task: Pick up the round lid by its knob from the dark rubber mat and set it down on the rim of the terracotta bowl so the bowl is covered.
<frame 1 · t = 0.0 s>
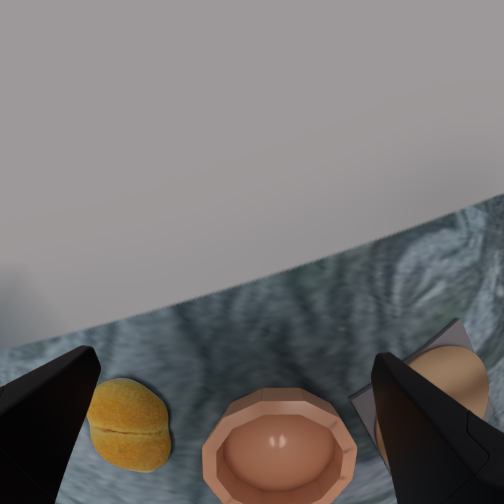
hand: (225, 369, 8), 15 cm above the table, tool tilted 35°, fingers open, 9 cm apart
bread roll: (134, 423, 22), on the table
mat: (431, 408, 20), on the table
bowl: (279, 446, 20), on the table
lid: (434, 410, 19), point 1 cm above the table, touching mat
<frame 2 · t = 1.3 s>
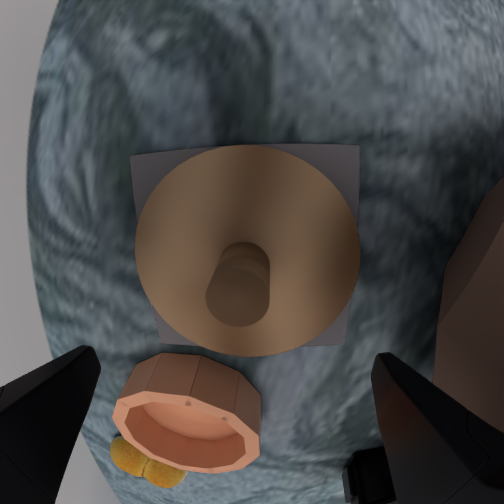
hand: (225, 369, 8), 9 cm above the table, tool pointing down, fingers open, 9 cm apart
bread roll: (153, 451, 26), on the table
mat: (246, 253, 17), on the table
bowl: (193, 403, 22), on the table
lid: (245, 258, 16), point 1 cm above the table, touching mat
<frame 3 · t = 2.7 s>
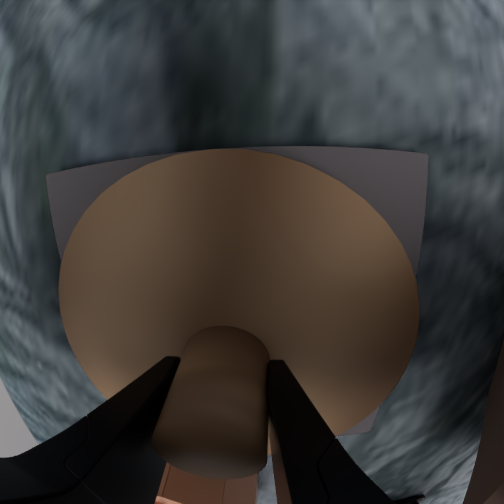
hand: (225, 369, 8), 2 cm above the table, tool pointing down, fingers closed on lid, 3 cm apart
mat: (233, 327, 10), on the table
bowl: (175, 474, 15), on the table
lid: (230, 340, 10), point 1 cm above the table, touching gripper, mat
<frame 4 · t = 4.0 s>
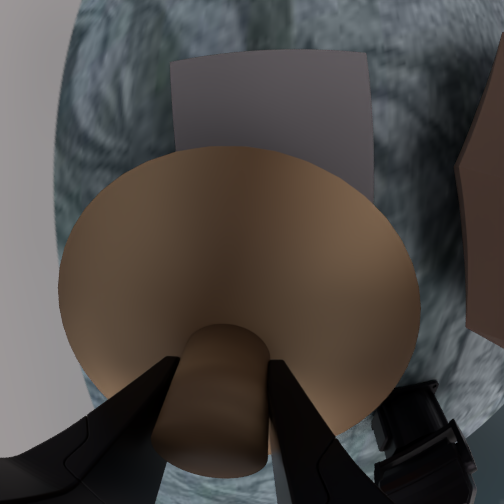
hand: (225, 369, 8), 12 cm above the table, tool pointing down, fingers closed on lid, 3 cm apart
mat: (275, 144, 17), on the table
lid: (231, 339, 9), point 11 cm above the table, touching gripper
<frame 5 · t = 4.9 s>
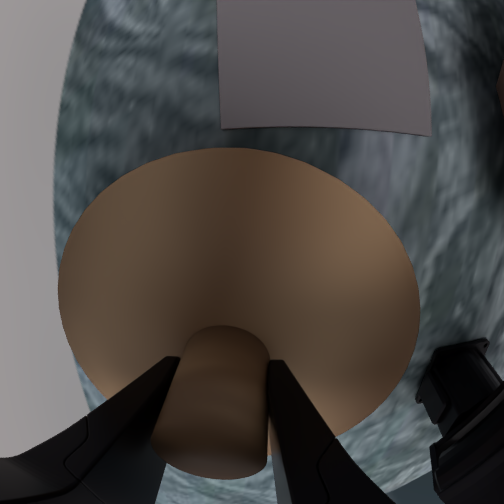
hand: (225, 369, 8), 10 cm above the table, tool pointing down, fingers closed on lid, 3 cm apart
mat: (325, 31, 13), on the table
lid: (230, 340, 9), point 9 cm above the table, touching gripper
when the fingers open (7 cm above the table, at t = 5.7 s): lid drops 1 cm, resting on bowl.
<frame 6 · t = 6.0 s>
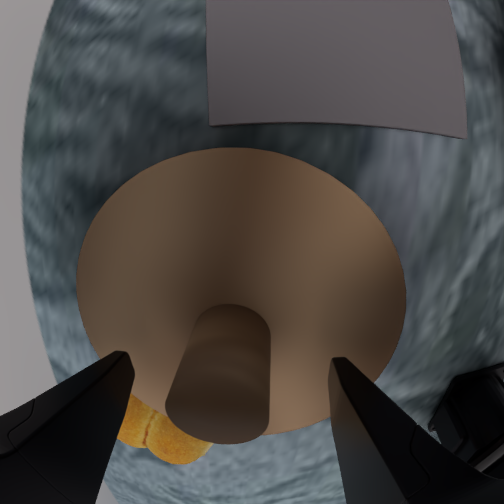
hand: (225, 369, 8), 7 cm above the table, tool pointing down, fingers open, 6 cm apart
bread roll: (162, 405, 19), on the table
mat: (340, 8, 10), on the table
lid: (235, 320, 11), point 4 cm above the table, touching bowl
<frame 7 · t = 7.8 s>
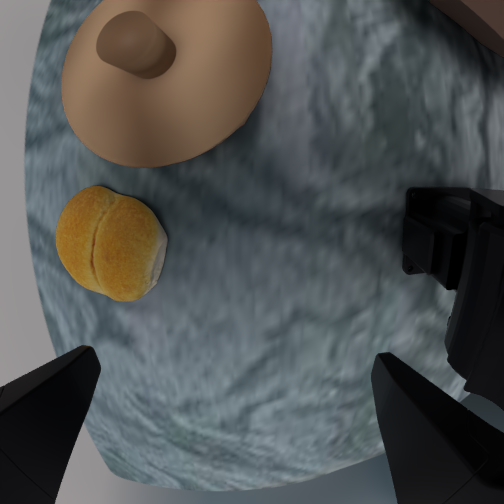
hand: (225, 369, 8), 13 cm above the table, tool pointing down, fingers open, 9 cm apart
bread roll: (118, 239, 21), on the table
lid: (158, 60, 13), point 4 cm above the table, touching bowl
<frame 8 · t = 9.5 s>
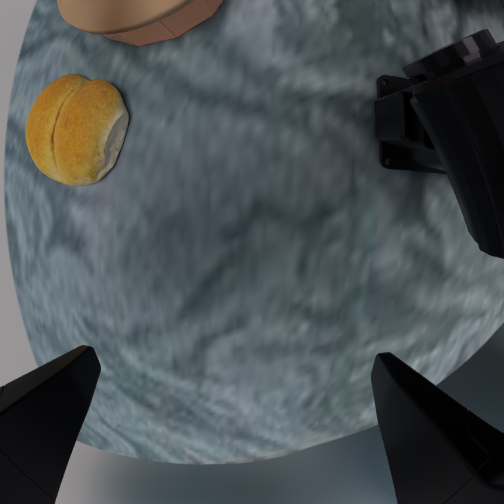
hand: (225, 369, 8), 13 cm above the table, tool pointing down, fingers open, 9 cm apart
bread roll: (84, 128, 19), on the table
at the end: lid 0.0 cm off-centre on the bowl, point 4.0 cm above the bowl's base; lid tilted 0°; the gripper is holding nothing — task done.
